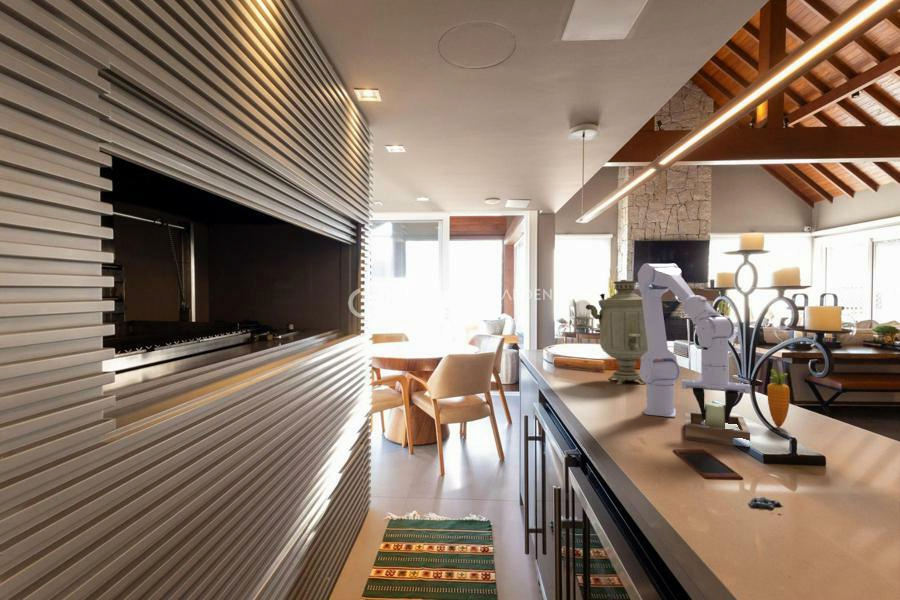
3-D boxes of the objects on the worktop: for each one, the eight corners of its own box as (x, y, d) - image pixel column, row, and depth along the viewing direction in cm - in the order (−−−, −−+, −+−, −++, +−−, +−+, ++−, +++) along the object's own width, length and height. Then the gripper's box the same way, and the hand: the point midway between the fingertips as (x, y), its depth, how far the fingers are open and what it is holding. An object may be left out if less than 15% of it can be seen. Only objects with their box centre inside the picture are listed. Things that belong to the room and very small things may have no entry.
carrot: (794, 430, 112) (794, 372, 112) (772, 429, 113) (772, 371, 113) (784, 424, 117) (783, 368, 116) (763, 424, 118) (762, 368, 117)
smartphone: (705, 476, 84) (671, 448, 99) (705, 481, 84) (671, 452, 99) (744, 476, 84) (704, 448, 99) (744, 481, 84) (704, 453, 99)
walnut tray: (685, 424, 119) (685, 411, 119) (742, 430, 113) (742, 416, 112) (685, 439, 106) (685, 425, 106) (750, 447, 100) (750, 432, 100)
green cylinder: (704, 421, 112) (704, 402, 112) (724, 424, 110) (724, 404, 110) (705, 426, 108) (704, 406, 108) (726, 429, 106) (725, 408, 106)
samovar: (582, 387, 166) (581, 281, 165) (588, 374, 190) (588, 282, 190) (670, 393, 155) (669, 279, 154) (665, 379, 179) (664, 280, 178)
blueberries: (804, 519, 71) (805, 507, 71) (763, 520, 69) (764, 508, 69) (766, 500, 77) (766, 489, 77) (727, 501, 76) (728, 490, 76)
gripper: (681, 365, 109) (681, 420, 109) (752, 369, 102) (752, 427, 102) (681, 361, 115) (681, 412, 115) (748, 364, 108) (748, 419, 109)
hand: (714, 419), depth 109 cm, fingers closed on green cylinder, 4 cm apart
